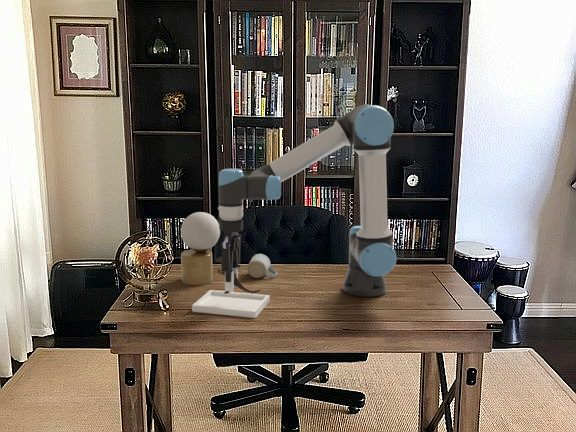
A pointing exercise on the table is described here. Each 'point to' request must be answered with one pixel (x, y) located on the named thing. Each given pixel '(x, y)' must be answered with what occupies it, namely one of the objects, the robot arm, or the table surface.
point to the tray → (231, 303)
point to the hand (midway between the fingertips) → (231, 288)
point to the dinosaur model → (236, 281)
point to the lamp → (198, 248)
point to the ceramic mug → (260, 267)
